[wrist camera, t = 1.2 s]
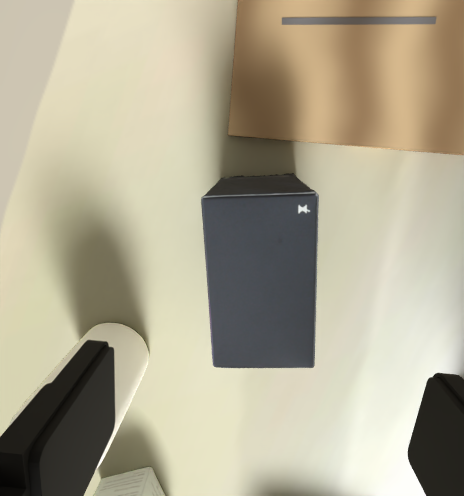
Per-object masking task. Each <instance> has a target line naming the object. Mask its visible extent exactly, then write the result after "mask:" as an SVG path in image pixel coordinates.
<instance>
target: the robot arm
mask: <svg viewBox="0 0 464 496" xmlns="http://www.w3.org/2000/svg"><path fill="white" fill-rule="evenodd" d="M114 427H115V366H114V348H113V347H109V344H108V342H107V341H97V340H87V341H86V342H85V343H84V344H83V345H82V346H81V348H80V349H79V350H78V351H77V352H76V354H75V355H74V356H73V357H72V358H71V360H70V361H69V362H68V363H67V365H66V366H65V367H64V368H63V369H62V371H61V372H60V373H59V374H58V375H57V377H56V378H55V379H54V380H53V381H52V383H48V384H46V385H45V386H43V387H42V388H41V390H40V391H39V392H38V393H37V394H36V395H35V397H34V398H33V399H32V400H31V401H30V403H29V404H28V405H27V406H26V407H25V408H24V410H23V411H22V412H21V413H20V414H19V415H18V417H17V418H16V419H15V420H14V421H13V423H12V424H11V425H10V426H9V427H8V428H7V430H6V431H5V432H4V433H3V434H2V436H1V437H0V496H84V493H85V491H86V489H87V487H88V485H89V483H90V481H91V478H92V476H93V474H94V472H95V470H96V468H97V466H98V464H99V461H100V459H101V457H102V455H103V453H104V451H105V449H106V446H107V444H108V442H109V440H110V438H111V436H112V433H113V430H114ZM408 459H409V462H410V465H411V467H412V469H413V471H414V472H415V474H416V476H417V478H418V480H419V482H420V484H421V486H422V488H423V490H424V492H425V494H426V496H464V380H463V378H462V377H460V376H459V375H454V374H444V373H436V374H435V375H434V376H433V378H432V377H431V378H429V379H428V381H427V384H426V387H425V391H424V394H423V398H422V401H421V405H420V408H419V412H418V416H417V419H416V423H415V426H414V430H413V433H412V437H411V440H410V444H409V447H408Z"/></svg>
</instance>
